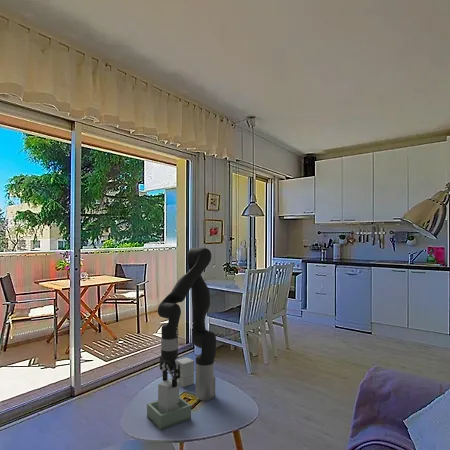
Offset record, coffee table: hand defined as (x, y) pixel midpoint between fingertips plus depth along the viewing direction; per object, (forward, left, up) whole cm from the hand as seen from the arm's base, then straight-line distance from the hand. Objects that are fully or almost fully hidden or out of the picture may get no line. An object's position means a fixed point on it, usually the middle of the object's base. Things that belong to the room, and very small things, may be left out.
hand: (169, 383), depth 154 cm
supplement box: (-24, -26, -15) cm, 39 cm away
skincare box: (0, 0, -14) cm, 14 cm away
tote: (0, 0, -15) cm, 15 cm away
